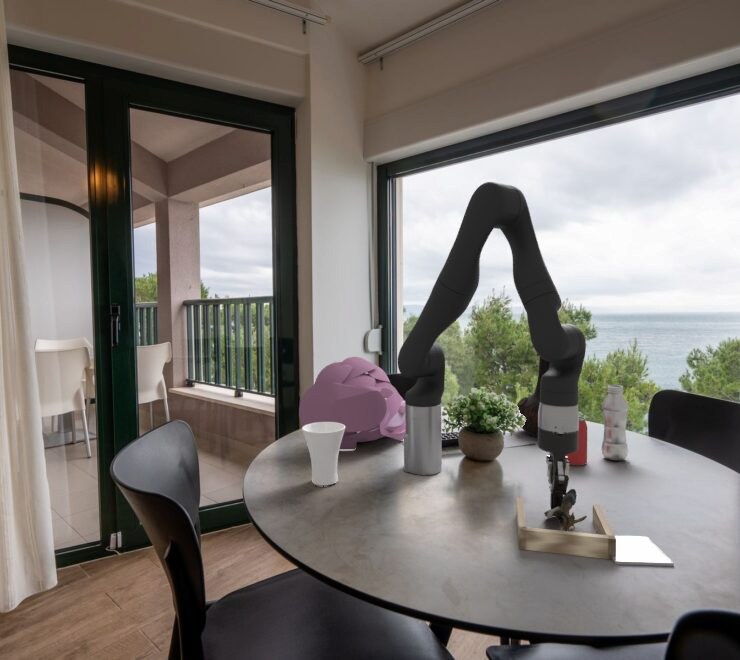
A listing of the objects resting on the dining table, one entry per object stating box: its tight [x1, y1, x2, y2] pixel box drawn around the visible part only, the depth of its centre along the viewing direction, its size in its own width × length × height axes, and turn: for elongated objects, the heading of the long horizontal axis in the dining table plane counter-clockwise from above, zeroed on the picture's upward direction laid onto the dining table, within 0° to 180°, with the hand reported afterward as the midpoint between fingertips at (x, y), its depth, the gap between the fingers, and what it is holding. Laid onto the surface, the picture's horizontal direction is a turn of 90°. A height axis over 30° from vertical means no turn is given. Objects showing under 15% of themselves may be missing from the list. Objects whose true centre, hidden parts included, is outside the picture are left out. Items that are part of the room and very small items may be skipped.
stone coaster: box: [611, 535, 675, 567], centre depth 84 cm, size 9×9×1 cm
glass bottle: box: [516, 353, 550, 438], centre depth 156 cm, size 18×18×28 cm
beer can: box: [566, 416, 588, 467], centre depth 129 cm, size 7×7×12 cm
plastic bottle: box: [601, 384, 629, 462], centre depth 131 cm, size 6×7×20 cm
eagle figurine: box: [543, 488, 588, 531], centre depth 93 cm, size 8×7×9 cm
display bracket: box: [515, 497, 616, 560], centre depth 90 cm, size 15×14×4 cm
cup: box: [301, 422, 345, 485], centre depth 118 cm, size 10×10×14 cm
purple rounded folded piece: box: [298, 356, 406, 449], centre depth 151 cm, size 35×24×28 cm
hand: (556, 510), depth 97 cm, fingers closed
